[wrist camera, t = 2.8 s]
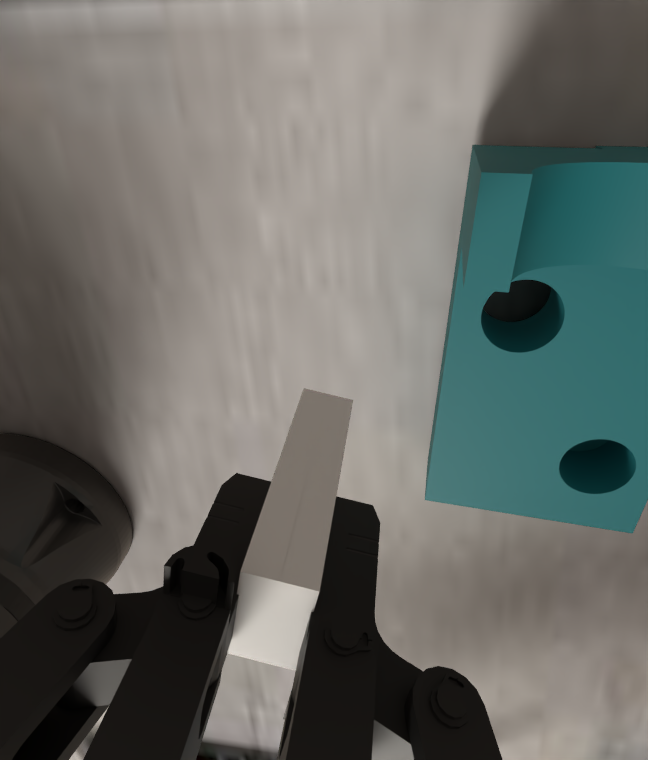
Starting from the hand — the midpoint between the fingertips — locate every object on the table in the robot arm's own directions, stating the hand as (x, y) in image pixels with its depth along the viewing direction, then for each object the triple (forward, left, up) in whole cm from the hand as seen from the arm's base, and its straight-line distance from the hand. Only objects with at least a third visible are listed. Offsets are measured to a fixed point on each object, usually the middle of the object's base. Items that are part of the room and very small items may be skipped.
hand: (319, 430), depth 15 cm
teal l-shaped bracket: (+11, 0, -14) cm, 18 cm away
